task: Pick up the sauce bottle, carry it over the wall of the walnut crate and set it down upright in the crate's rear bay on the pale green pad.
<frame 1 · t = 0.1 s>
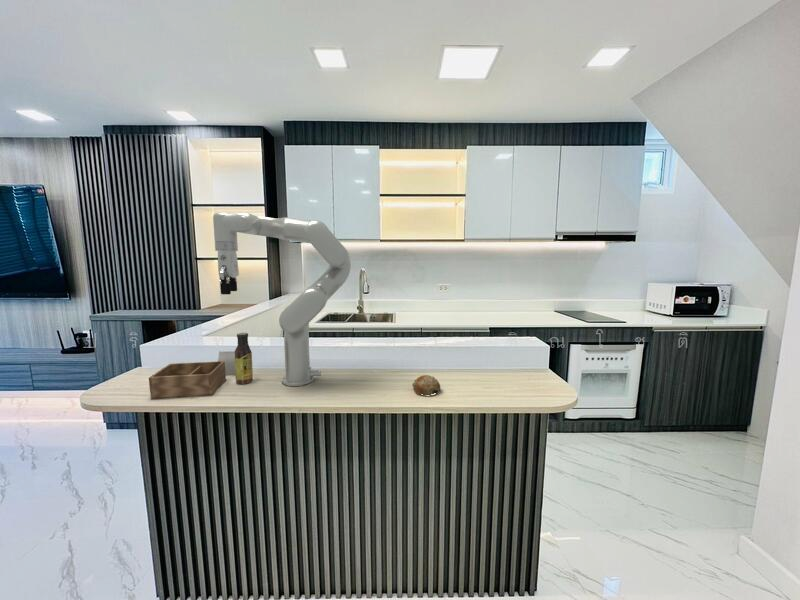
hand: (229, 292, 126), 36 cm above the table, tool pointing down, fingers open, 9 cm apart
bread roll: (425, 391, 127), on the table
sauce bottle: (244, 382, 134), on the table
tea bag: (229, 374, 142), on the table
crate: (191, 389, 127), on the table
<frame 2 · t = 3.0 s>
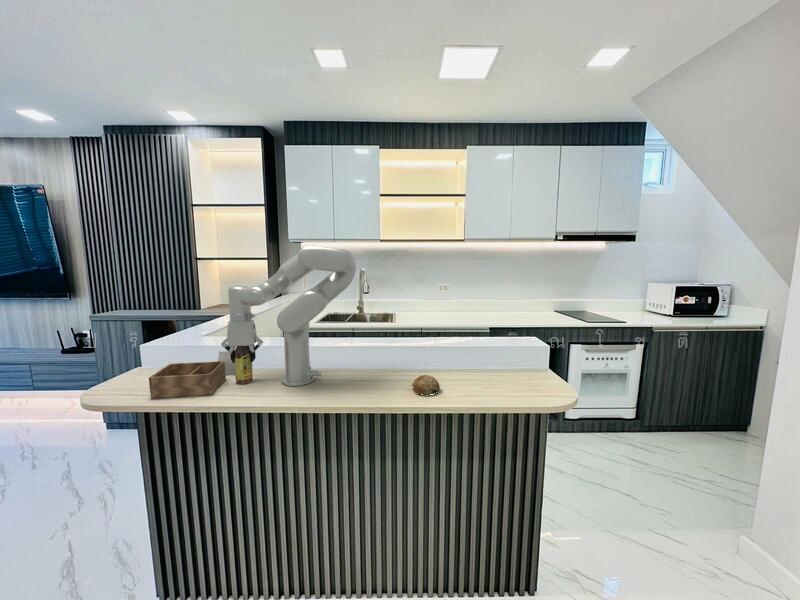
hand: (243, 361, 133), 9 cm above the table, tool pointing down, fingers closed on sauce bottle, 6 cm apart
sauce bottle: (244, 382, 134), on the table, touching gripper
everything else where it was.
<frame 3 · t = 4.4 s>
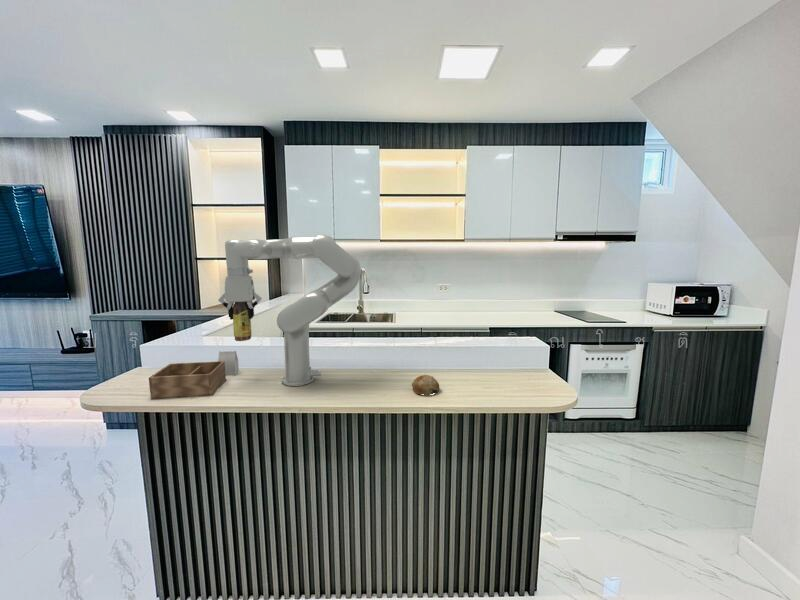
hand: (241, 318, 130), 26 cm above the table, tool pointing down, fingers closed on sauce bottle, 6 cm apart
sauce bottle: (243, 340, 132), point 17 cm above the table, touching gripper
everything else where it was.
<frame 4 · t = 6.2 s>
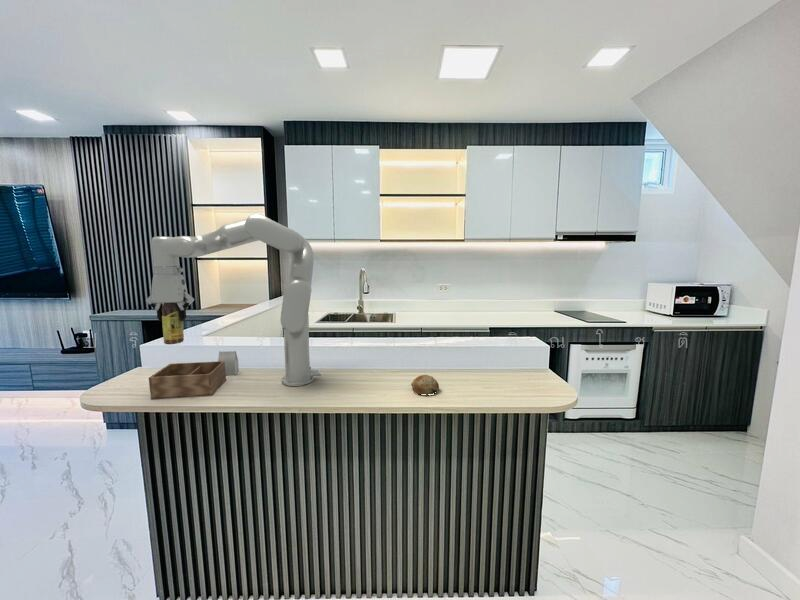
hand: (172, 320, 122), 27 cm above the table, tool pointing down, fingers closed on sauce bottle, 6 cm apart
sauce bottle: (174, 343, 123), point 18 cm above the table, touching gripper
everything else where it was.
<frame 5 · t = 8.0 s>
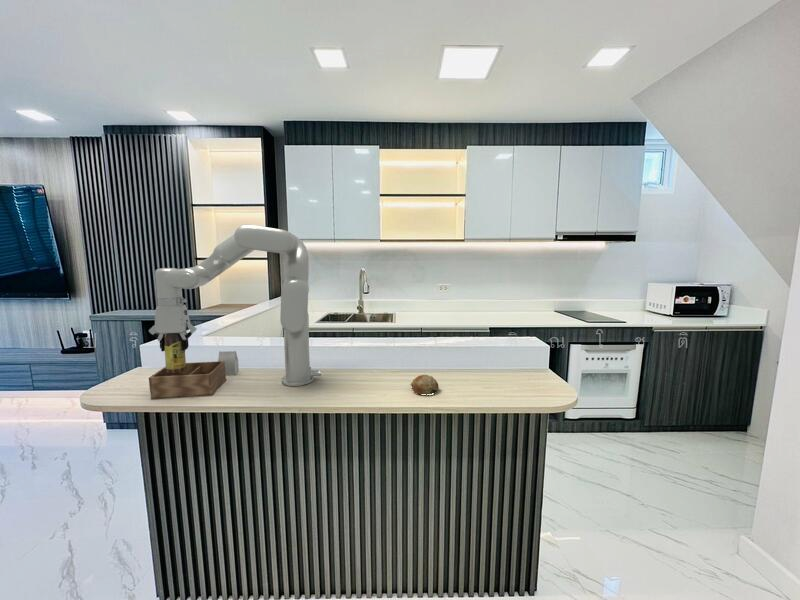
hand: (174, 349, 124), 16 cm above the table, tool pointing down, fingers closed on sauce bottle, 6 cm apart
sauce bottle: (176, 372, 125), point 7 cm above the table, touching gripper
everything else where it was.
when the fingers open (11 cm above the table, at t = 9.6 s): sauce bottle drops 1 cm, resting on crate.
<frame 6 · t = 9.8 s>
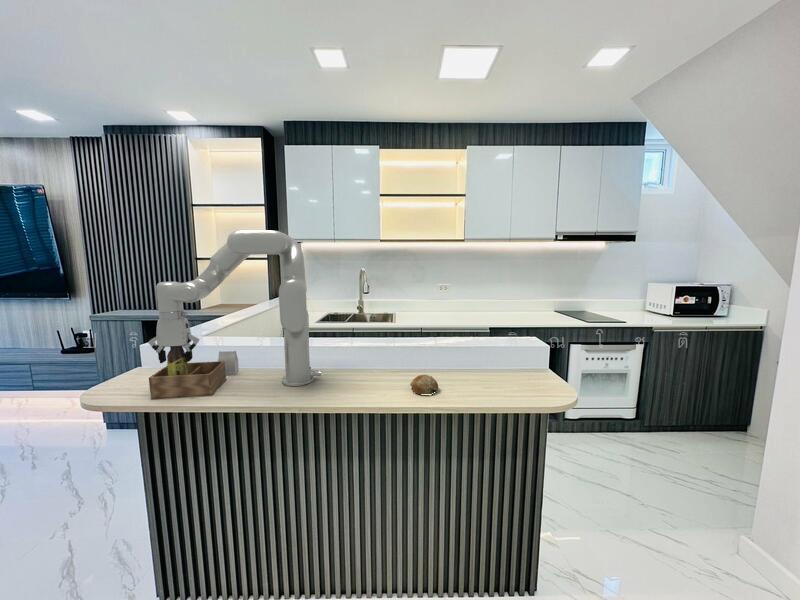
hand: (176, 361, 124), 11 cm above the table, tool pointing down, fingers open, 8 cm apart
sauce bottle: (179, 388, 126), point 1 cm above the table, touching crate
everything else where it was.
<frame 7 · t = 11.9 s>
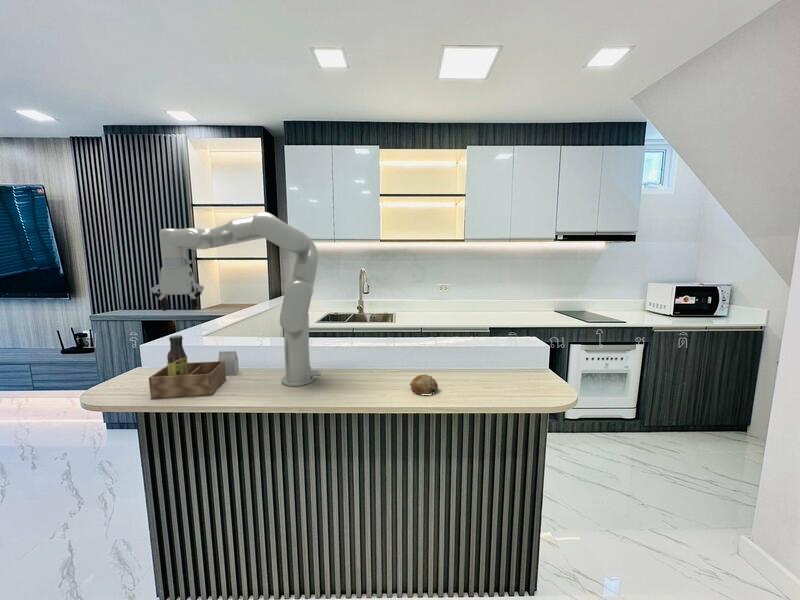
hand: (180, 309, 124), 30 cm above the table, tool pointing down, fingers open, 9 cm apart
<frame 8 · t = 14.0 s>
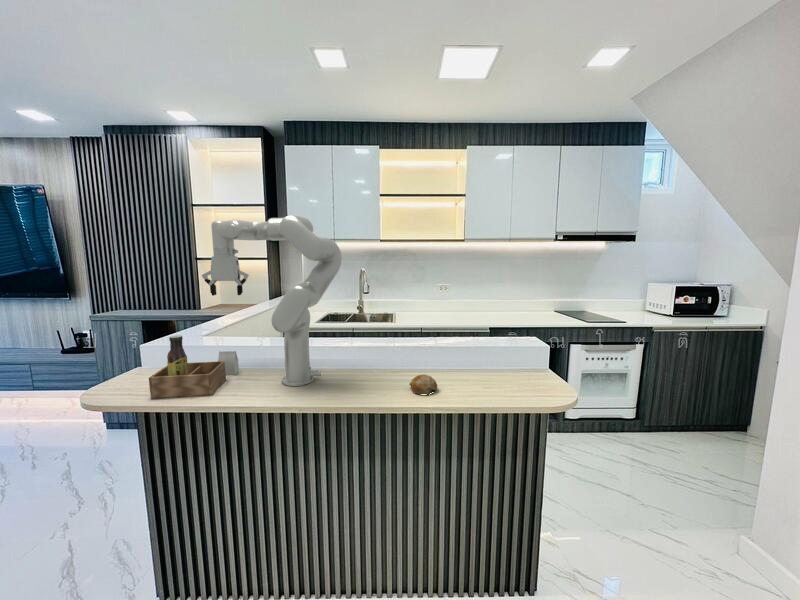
hand: (227, 295, 136), 34 cm above the table, tool pointing down, fingers open, 9 cm apart
at the end: sauce bottle inside the target area on the crate (0.3 cm from its centre), point 0.6 cm above the crate's base; sauce bottle tilted 0°; the gripper is holding nothing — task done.
